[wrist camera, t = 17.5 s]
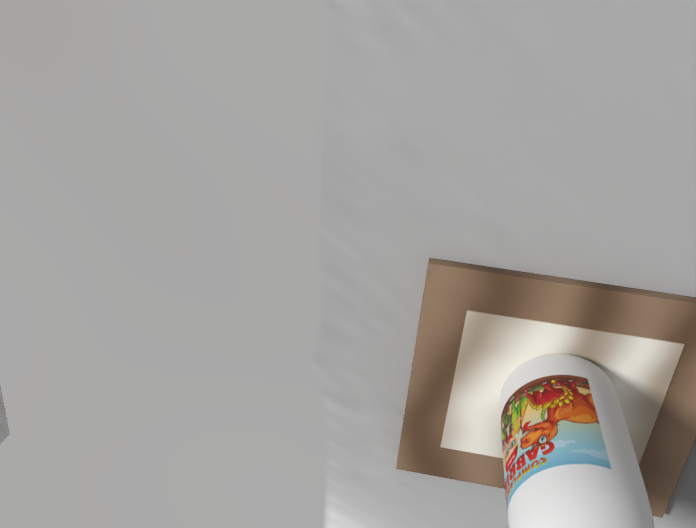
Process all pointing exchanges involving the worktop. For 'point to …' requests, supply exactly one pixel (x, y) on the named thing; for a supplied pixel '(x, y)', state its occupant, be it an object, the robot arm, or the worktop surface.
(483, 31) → the worktop surface
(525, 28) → the worktop surface
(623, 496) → the milk bottle
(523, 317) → the writing board
